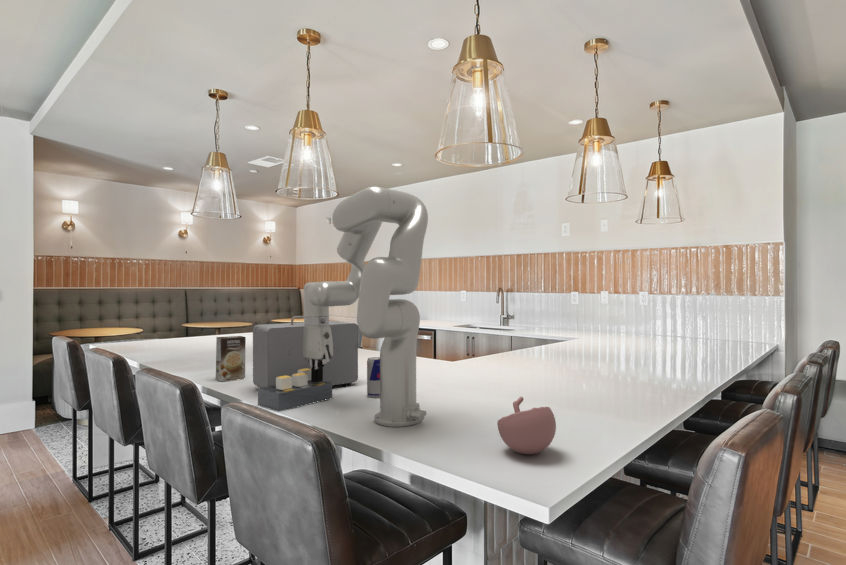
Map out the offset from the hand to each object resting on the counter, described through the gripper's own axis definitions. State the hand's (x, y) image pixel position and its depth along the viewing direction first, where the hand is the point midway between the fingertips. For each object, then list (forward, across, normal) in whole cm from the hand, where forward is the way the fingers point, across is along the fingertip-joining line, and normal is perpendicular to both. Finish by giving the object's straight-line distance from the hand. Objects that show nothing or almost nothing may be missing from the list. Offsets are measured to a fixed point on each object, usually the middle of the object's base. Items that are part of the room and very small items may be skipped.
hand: (317, 381), depth 144 cm
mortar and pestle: (+7, -71, 0) cm, 72 cm away
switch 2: (0, +6, 0) cm, 6 cm away
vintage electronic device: (+6, +19, -9) cm, 22 cm away
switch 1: (0, +1, +11) cm, 11 cm away
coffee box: (+6, +52, +1) cm, 52 cm away
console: (+6, +3, +6) cm, 9 cm away
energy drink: (+6, -10, -15) cm, 19 cm away
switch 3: (0, +1, +6) cm, 6 cm away
